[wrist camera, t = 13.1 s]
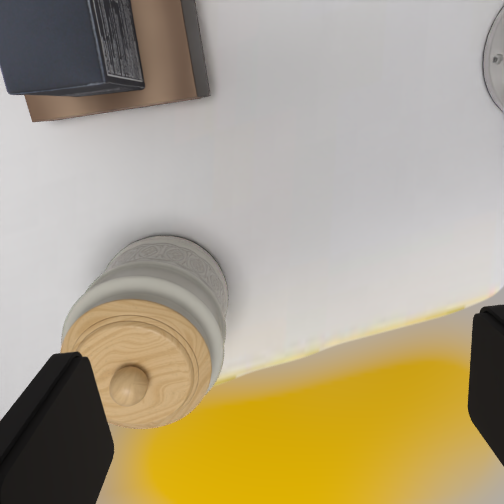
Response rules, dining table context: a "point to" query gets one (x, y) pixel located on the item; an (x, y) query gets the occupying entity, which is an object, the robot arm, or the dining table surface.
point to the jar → (152, 331)
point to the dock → (146, 65)
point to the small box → (69, 47)
